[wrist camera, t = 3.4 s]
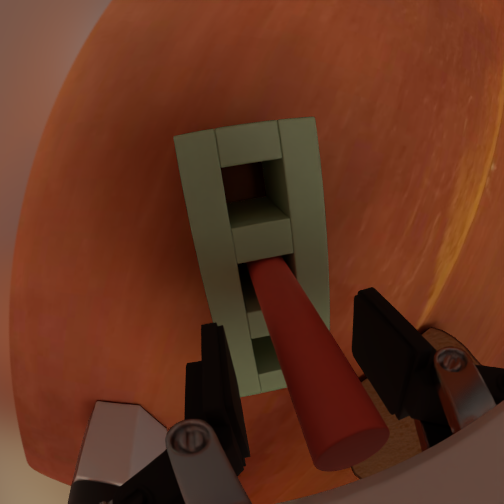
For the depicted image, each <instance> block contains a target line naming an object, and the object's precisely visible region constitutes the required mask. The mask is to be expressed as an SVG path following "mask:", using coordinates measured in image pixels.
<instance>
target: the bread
mask: <svg viewBox="0 0 504 504" xmlns="http://www.w3.org/2000/svg"><path fill="white" fill-rule="evenodd" d="M422 336H423V337H424V338H425V339H426V340H427V341H428V342H429V343H430V344H431V345H432V346H433V347H434V348H435V349H436V350H437V351H438V350H439V349H441V348H443V347H448V346H453V347H458V348H461V349H463V350H464V351H466V352H467V353H468V354H469V356H470V357H471V359H472V360H473V362H474V364H475V365H481V364H480V363H479V362H478V361H477V359H476V358H475V357H474V356H473V355H472V354H471V352H470V351H469V350H468V349H467V348H466V347H465V346H464V345H463V344H462V343H461V342H459V341H458V340H457V339H456V338H455V337H453V336H452V335H450V334H448V333H446V332H445V331H443V330H440V329H436V328H433V327H431V328H430V329H428V330H427V331H426V332H425V333H423V334H422ZM361 383H362V385H363V387H364V388H365V390H366V392H367V393H368V395H369V397H370V398H371V400H372V402H373V403H374V405H375V407H376V408H377V410H378V412H379V413H380V415H381V417H382V418H383V420H384V422H385V423H386V425H387V427H388V429H389V431H390V436H389V439H388V441H387V442H386V444H385V445H384V446H383V447H382V448H381V449H380V450H379V451H378V452H377V453H375V454H374V455H373V456H371V457H370V458H368V459H366V460H365V461H363V462H361V463H359V464H357V465H354V466H352V467H351V468H352V470H353V473H354V475H355V476H357V477H358V478H359V479H363V478H366V477H368V476H371V475H373V474H376V473H378V472H381V471H383V470H385V469H388V468H390V467H392V466H394V465H397V464H399V463H401V462H403V461H405V460H407V459H409V458H411V457H413V456H415V455H417V454H419V453H421V452H422V450H421V446H420V442H419V438H418V435H417V431H416V427H415V424H414V419H412V418H411V417H410V416H408V417H405V418H403V419H401V420H398V419H397V417H396V416H395V414H394V415H391V414H390V413H389V411H388V410H387V408H386V407H385V405H384V403H383V402H382V400H381V399H380V397H379V395H378V394H377V392H376V391H375V389H374V388H373V386H372V384H371V383H370V381H369V380H368V378H366V379H365V380H364V381H362V382H361Z"/></svg>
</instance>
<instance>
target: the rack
mask: <svg viewBox="0 0 504 504" xmlns="http://www.w3.org/2000/svg"><path fill="white" fill-rule="evenodd" d="M173 139H174V145H175V150H176V156H177V161H178V167H179V172H180V178H181V183H182V188H183V193H184V198H185V203H186V208H187V213H188V218H189V222H190V227H191V232H192V236H193V241H194V245H195V250H196V254H197V259H198V263H199V267H200V272H201V276H202V280H203V284H204V288H205V292H206V297H207V301H208V305H209V309H210V312H211V316H212V320H213V323H215V322H217V325H218V326H221V325H223V326H224V330H225V334H226V338H227V342H228V346H229V350H230V354H231V358H232V362H233V366H234V370H235V374H236V377H237V382H238V387H239V393H240V397H244V396H249V395H254V394H259V393H261V392H262V393H264V392H268V391H273V390H277V389H282V388H286V387H287V385H286V382H285V379H284V376H283V373H282V370H281V367H280V364H279V361H278V358H277V355H276V352H275V349H274V346H273V343H272V340H271V337H270V334H269V331H268V328H267V325H266V322H265V319H264V316H263V313H262V310H261V307H260V304H259V301H258V298H257V295H256V292H255V289H254V286H253V283H252V280H251V277H250V274H249V271H248V268H247V266H244V267H239V268H238V266H237V263H238V264H239V263H244V262H249V261H255V260H260V259H265V258H270V257H275V256H280V255H281V256H282V258H283V259H284V261H285V262H286V264H287V265H288V267H289V268H290V270H291V271H292V273H293V275H294V276H295V278H296V279H297V281H298V282H299V284H300V285H301V287H302V289H303V290H304V292H305V293H306V295H307V296H308V298H309V300H310V301H311V303H312V304H313V306H314V308H315V309H316V311H317V312H318V314H319V315H320V317H321V319H322V320H323V322H324V323H325V325H326V327H327V328H328V330H329V331H330V299H329V269H328V248H327V232H326V217H325V205H324V193H323V182H322V172H321V163H320V154H319V145H318V137H317V129H316V122H315V117H301V118H290V119H279V120H270V121H262V122H254V123H246V124H239V125H232V126H226V127H220V128H216V129H208V130H202V131H197V132H192V133H187V134H182V135H177V136H174V137H173ZM254 162H262V169H263V176H264V183H265V190H266V196H265V197H259V198H253V199H247V200H241V201H236V202H230V203H226V198H225V192H224V186H223V180H222V174H221V168H220V167H222V168H224V167H230V166H235V165H242V164H248V163H254Z"/></svg>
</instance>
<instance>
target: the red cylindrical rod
mask: <svg viewBox="0 0 504 504" xmlns="http://www.w3.org/2000/svg"><path fill="white" fill-rule="evenodd" d="M246 265H247V268H248V271H249V274H250V277H251V280H252V283H253V286H254V289H255V292H256V295H257V298H258V301H259V304H260V307H261V310H262V313H263V316H264V319H265V322H266V325H267V328H268V331H269V334H270V337H271V340H272V343H273V346H274V349H275V352H276V355H277V358H278V361H279V364H280V367H281V370H282V373H283V376H284V379H285V382H286V385H287V388H288V390H289V393H290V396H291V399H292V402H293V405H294V408H295V411H296V414H297V417H298V420H299V423H300V425H301V428H302V431H303V434H304V437H305V440H306V443H307V446H308V449H309V452H310V454H311V457H312V460H313V463H314V465H315V467H316V468H317V469H319V470H322V471H337V470H342V469H346V468H349V467H352V466H354V465H357V464H359V463H361V462H363V461H365V460H366V459H368V458H370V457H371V456H373V455H374V454H375V453H377V452H378V451H379V450H380V449H381V448H382V447H383V446H384V445H385V444H386V442H387V441H388V439H389V436H390V431H389V429H388V427H387V425H386V423H385V422H384V420H383V418H382V417H381V415H380V413H379V412H378V410H377V408H376V407H375V405H374V403H373V402H372V400H371V398H370V397H369V395H368V393H367V392H366V390H365V388H364V387H363V385H362V383H361V382H360V380H359V378H358V377H357V375H356V374H355V372H354V370H353V369H352V367H351V365H350V364H349V362H348V360H347V359H346V357H345V356H344V354H343V352H342V351H341V349H340V347H339V346H338V344H337V343H336V341H335V339H334V338H333V336H332V335H331V333H330V331H329V330H328V328H327V327H326V325H325V323H324V322H323V320H322V319H321V317H320V315H319V314H318V312H317V311H316V309H315V308H314V306H313V304H312V303H311V301H310V300H309V298H308V296H307V295H306V293H305V292H304V290H303V289H302V287H301V285H300V284H299V282H298V281H297V279H296V278H295V276H294V275H293V273H292V271H291V270H290V268H289V267H288V265H287V264H286V262H285V261H284V259H283V258H282V256H281V255H280V256H275V257H270V258H265V259H260V260H255V261H249V262H246Z"/></svg>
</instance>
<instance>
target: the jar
mask: <svg viewBox="0 0 504 504" xmlns="http://www.w3.org/2000/svg"><path fill="white" fill-rule="evenodd" d="M166 434H167V429H166V428H165V427H164V426H163V425H161V424H160V423H159V422H158V421H157V420H155V419H154V418H153V417H152V416H151V415H150V414H149V413H147V412H146V411H145V410H144V409H143V408H142V407H141V406H139V405H130V404H120V403H111V402H103V401H97V402H96V404H95V406H94V408H93V411H92V413H91V415H90V417H89V420H88V423H87V426H86V429H85V433H84V437H83V440H82V444H81V448H80V451H79V455H78V459H77V463H76V468H75V472H74V476H73V481H72V485H71V490H70V495H69V500H68V504H99V503H101V502H103V501H105V502H106V503H108V502H109V501H111V500H113V495H114V493H115V491H116V490H117V489H118V488H119V487H120V486H121V485H122V484H124V483H125V482H126V481H128V480H129V479H130V478H131V477H133V476H134V475H135V474H137V473H138V472H139V471H140V470H142V469H143V468H144V467H145V466H147V465H148V464H149V463H150V462H152V461H153V460H154V459H155V458H156V457H158V456H159V455H160V454H161V453H162V452H164V451H165V450H166V443H165V438H166Z"/></svg>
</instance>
